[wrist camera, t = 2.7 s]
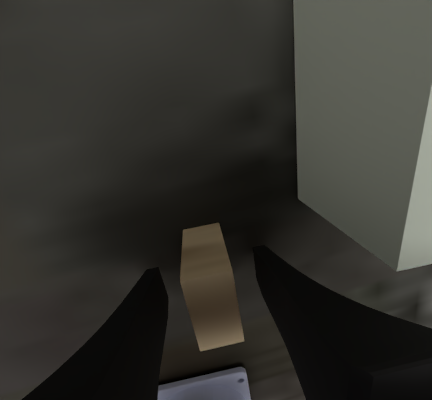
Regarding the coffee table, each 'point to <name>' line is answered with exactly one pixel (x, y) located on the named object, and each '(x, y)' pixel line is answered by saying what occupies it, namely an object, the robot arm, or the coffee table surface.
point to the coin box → (367, 122)
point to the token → (209, 287)
